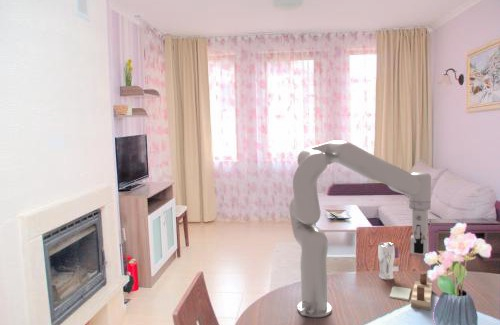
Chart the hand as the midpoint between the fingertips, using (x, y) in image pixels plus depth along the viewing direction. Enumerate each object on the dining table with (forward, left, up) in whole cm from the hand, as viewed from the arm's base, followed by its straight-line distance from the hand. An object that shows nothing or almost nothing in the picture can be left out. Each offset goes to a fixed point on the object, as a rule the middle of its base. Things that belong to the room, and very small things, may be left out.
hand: (419, 250), depth 150 cm
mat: (+1, +7, -19) cm, 20 cm away
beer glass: (+16, +14, -19) cm, 29 cm away
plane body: (0, -1, -19) cm, 19 cm away
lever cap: (0, 0, -1) cm, 1 cm away
